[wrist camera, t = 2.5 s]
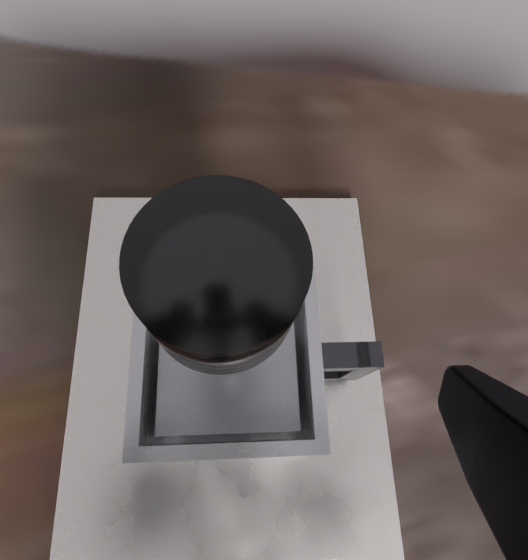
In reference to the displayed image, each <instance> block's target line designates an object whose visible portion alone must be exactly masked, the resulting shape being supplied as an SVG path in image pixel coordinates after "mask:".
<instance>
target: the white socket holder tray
mask: <svg viewBox="0 0 528 560" xmlns="http://www.w3.org/2000/svg"><path fill="white" fill-rule="evenodd" d="M151 199H152V198H94V200H93V208H92V217H91V225H90V233H89V241H88V249H87V257H86V266H85V274H84V282H83V290H82V298H81V306H80V315H79V323H78V331H77V339H76V347H75V355H74V364H73V372H72V380H71V388H70V396H69V404H68V413H67V421H66V429H65V437H64V445H63V453H62V462H61V470H60V478H59V486H58V494H57V502H56V511H55V519H54V527H53V535H52V543H51V551H50V560H404V553H403V545H402V538H401V530H400V523H399V515H398V507H397V500H396V492H395V485H394V477H393V469H392V462H391V454H390V446H389V439H388V431H387V424H386V416H385V408H384V401H383V393H382V385H381V378H380V370H379V369H381V368H383V367H384V361H383V354H382V346H381V341H376V340H375V332H374V325H373V317H372V309H371V302H370V294H369V286H368V279H367V271H366V264H365V256H364V248H363V241H362V233H361V226H360V218H359V210H358V203H357V198H282V199H283V200H285V201H286V202H287V203H288V204H289V205H290V206H291V207H292V209H293V210H294V211H295V212H296V213H297V215H298V216H299V218H300V220H301V221H302V223H303V224H304V227H305V229H306V231H307V233H308V236H309V239H310V243H311V247H312V253H313V273H312V280H311V284H310V287H309V291H308V293H307V295H306V298H305V300H304V302H303V304H302V306H301V308H300V310H299V312H298V314H297V316H296V318H295V320H294V332H295V348H296V364H297V379H298V395H299V411H300V427H301V431H293V432H267V433H241V434H214V435H188V436H162V437H155V420H156V401H157V381H158V362H159V343H158V342H157V340H156V339H155V338H154V337H153V336H152V334H151V333H150V332H149V331H148V329H147V328H146V327H145V326H144V325H143V323H142V322H141V321H140V320H139V319H138V317H137V316H136V315H135V313H134V312H133V310H132V309H131V307H130V305H129V304H128V301H127V299H126V297H125V295H124V292H123V289H122V285H121V281H120V273H119V256H120V250H121V245H122V242H123V239H124V236H125V233H126V231H127V229H128V227H129V225H130V223H131V222H132V220H133V219H134V217H135V216H136V214H137V213H138V212H139V211H140V210H141V208H142V207H143V206H144V205H145V204H146V203H147V202H148V201H149V200H151Z"/></svg>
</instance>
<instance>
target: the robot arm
mask: <svg viewBox="0 0 528 560" xmlns="http://www.w3.org/2000/svg"><path fill="white" fill-rule="evenodd" d="M438 406H439V410H440V413H441V416H442V418H443V421H444V423H445V426H446V429H447V431H448V434H449V437H450V439H451V442H452V444H453V447H454V450H455V452H456V455H457V457H458V460H459V463H460V465H461V468H462V470H463V473H464V475H465V478H466V480H467V482H468V484H469V486H470V489H471V491H472V493H473V495H474V497H475V499H476V501H477V503H478V505H479V507H480V509H481V511H482V513H483V515H484V517H485V519H486V521H487V523H488V525H489V527H490V529H491V530H492V532H493V534H494V536H495V538H496V540H497V542H498V544H499V546H500V548H501V550H502V552H503V554H504V556H505V558H506V560H528V396H526V395H524V394H522V393H520V392H518V391H517V390H515V389H513V388H511V387H509V386H507V385H505V384H503V383H502V382H500V381H498V380H496V379H494V378H492V377H490V376H488V375H487V374H485V373H483V372H481V371H479V370H477V369H475V368H473V367H471V366H469V365H452V366H449V367H447V369H446V370H445V373H444V377H443V381H442V385H441V389H440V393H439V397H438Z"/></svg>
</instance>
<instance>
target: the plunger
mask: <svg viewBox="0 0 528 560" xmlns="http://www.w3.org/2000/svg"><path fill="white" fill-rule="evenodd" d="M119 273H120V281H121V285H122V289H123V292H124V295H125V297H126V299H127V301H128V304H129V305H130V307H131V309H132V310H133V312H134V313H135V315H136V316H137V317H138V319H139V320H140V321H141V322H142V323H143V325H144V326H145V327H146V328H147V329H148V331H149V332H150V333H151V334H152V336H153V337H154V338H155V339H156V340H157V342H158V343H159V362H158V381H157V401H156V420H155V437H162V436H188V435H214V434H241V433H267V432H293V431H301V427H300V411H299V395H298V379H297V364H296V348H295V332H294V320H295V318H296V316H297V314H298V312H299V310H300V308H301V306H302V304H303V302H304V300H305V298H306V295H307V293H308V291H309V287H310V284H311V280H312V273H313V253H312V247H311V243H310V239H309V236H308V233H307V231H306V229H305V227H304V224H303V223H302V221H301V220H300V218H299V216H298V215H297V213H296V212H295V211H294V210H293V209H292V207H291V206H290V205H289V204H288V203H287V202H286V201H285V200H283V199H282V198H281V197H280V196H278V195H277V194H276V193H274V192H273V191H271V190H269V189H268V188H266V187H264V186H262V185H260V184H258V183H255V182H253V181H250V180H246V179H243V178H238V177H232V176H221V175H214V176H202V177H196V178H192V179H188V180H185V181H182V182H179V183H177V184H174V185H172V186H170V187H168V188H167V189H165V190H163V191H161V192H160V193H158V194H157V195H156V196H154V197H153V198H152V199H151V200H149V201H148V202H147V203H146V204H145V205H144V206H143V207H142V208H141V210H140V211H139V212H138V213H137V214H136V216H135V217H134V219H133V220H132V222H131V223H130V225H129V227H128V229H127V231H126V233H125V236H124V239H123V242H122V245H121V250H120V256H119Z"/></svg>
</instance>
